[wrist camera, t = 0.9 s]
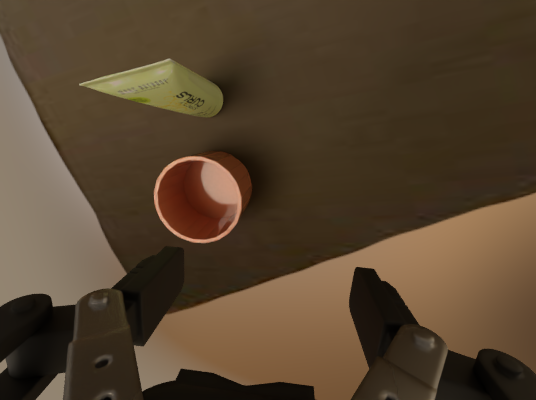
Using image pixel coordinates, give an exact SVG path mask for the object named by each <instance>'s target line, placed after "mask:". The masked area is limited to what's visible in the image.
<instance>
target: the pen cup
mask: <svg viewBox="0 0 536 400" xmlns="http://www.w3.org/2000/svg"><path fill="white" fill-rule="evenodd" d="M251 193H252V183H251V178H250V175H249V173H248V171H247V169H246V168H245V166H244V165H243V164H242V163H241V161H239V160H238V159H237V158H236V157H234V156H232V155H230V154H228V153H225V152H221V151H207V152H203V153H199V154H195V155H191V156H187V157H183V158H180V159H177V160H175V161H173V162H172V163H170V164H169V165H168V166H166V167H165V168H164V169H163V171H162V172H161V174H160V175H159V177H158V178H157V181H156V185H155V189H154V201H155V207H156V210H157V212H158V215H159V217H160V219H161V221H162V222H163V223H164V224H165V226H166V227H167V228H168V229H169V230H170V231H171V232H173V233H174V234H175V235H177V236H178V237H180V238H182V239H185V240H188V241H190V242H196V243H208V242H212V241H216V240H219V239H221V238H222V237H224V236H226V235H227V234H229V233H230V232H231V230H232V229H233V228H234V227H235V225H236V224H237V223H238V221H239V219H240V217H241V216H242V214H243V212H244V210H245V209H246V207H247V205H248V203H249V200H250V197H251Z"/></svg>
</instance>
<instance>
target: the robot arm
mask: <svg viewBox="0 0 536 400" xmlns="http://www.w3.org/2000/svg"><path fill="white" fill-rule="evenodd" d="M183 283H184V250H183V248H179V247H169V246H166V247H164V248H163V249H162V250H161V251H160V252H159V253H158V254H157V255H156V256H155V255H153V256H150V257H148V258H146V259H144V260H142V261H141V262H140V263H139V264H138V265H137V266H136V268H133V269H132V270H131V271H130V273H128V274H127V275H126V276H125V277H123V278H122V279H121V280H120V281H119V282H118V283H117V284H116V285H114V287H112V288H111V289H101V290H97V291H93V292H91V293H89V294H87V295H85V296H83V297H82V298H81V299H80V300H79V301H78V302H77V304H76V305H67V306H56V307H53V306H52V300H51V297H50V296H49V295H46V294H31V295H26V296H22V297H19V298H16V299H14V300H12V301H9V302H7V303H6V304H4V305H2V306H1V307H0V362H2V361H3V360H4V359H6V362H7V368H6V369H5V370H4V371H3V372H2V373H1V374H0V400H36V398H37V397H38V396H39V395H40V394H41V393H42V392H43V390H44V389H45V388H46V387H47V386H48V385H49V384H50V382H51V381H52V380H53V379H54V378H55V377H56V375H57V374H58V373H65V372H66V375H65V385H64V395H63V400H315V398H314V387H313V386H307V385H299V384H292V383H284V382H276V383H267V384H259V385H250V386H245V385H241V384H238V383H236V382H234V381H231V380H229V379H226V378H224V377H221V376H219V375H217V374H214V373H209V372H202V371H193V370H187V369H181V370H180V372H179V374H178V376H177V378H176V381H169V382H165V383H161V384H158V385H155V386H153V387H151V388H148V389H146V390H144V391H143V392H142V389H141V383H140V378H139V373H138V367H137V362H136V356H135V351H134V345H136V346H144V345H145V344H146V342H147V341H148V339H149V338H150V336H151V335H152V333H153V332H154V330H155V329H156V327H157V325H158V324H159V322H160V321H161V320H162V318H163V316H164V315H165V314H166V312H167V311H168V309H169V308H170V306H171V305H172V303H173V302H174V300H175V299H176V297H177V296H178V294H179V293H180V291H181V289H182V287H183ZM349 307H350V312H351V315H352V318H353V321H354V324H355V327H356V330H357V333H358V336H359V339H360V342H361V345H362V348H363V351H364V355H365V358H366V360H367V364H368V366H369V371H368V372H367V374H366V376H365V377H364V379H363V381H362V382H361V384H360V385H359V387H358V389H357V390H356V392H355V393H354V395H353V397H352V399H351V400H536V374H535V373H534V372H533V371H532V370H531V369H530V368H529V367H527V366H526V365H525V364H523V363H522V362H521V361H519V360H517V359H516V358H514V357H512V356H510V355H508V354H506V353H503V352H501V351H497V350H494V349H482V350H480V351H479V352H478V355H477V358H476V359H473V358H470V357H467V356H464V355H461V354H458V353H455V352H453V351H450V350H448V348H447V345H446V343H445V342H444V341H443V340H442V339H441V338H440V337H439V336H438V335H437V334H436V333H434V332H433V331H431V330H429V329H427V328H425V327H422V326H420V325H419V324H418V322H417V321H416V319H415V318H414V316H413V315H412V313H411V312H410V310H409V309H408V307H407V306H406V305H405V303H404V301H403V300H402V298H401V297H400V295H399V294H398V293H397V290H396V289H395V288H394V287H393V286H391V285H390V284H389V283H387V282H386V281H381V280H380V278H379V277H378V275H377V273H376V271H375V270H374V269H371V268H361V267H356V269H355V271H354V276H353V282H352V287H351V292H350V299H349Z"/></svg>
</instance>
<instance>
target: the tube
mask: <svg viewBox="0 0 536 400" xmlns="http://www.w3.org/2000/svg"><path fill="white" fill-rule="evenodd" d="M79 85H81V86H86V87H89V88H92V89H94V90H97V91H100V92H104V93H107V94H111V95H114V96H118V97H121V98H125V99H129V100H132V101H136V102H140V103H144V104H147V105H151V106H155V107H160V108H164V109H168V110H172V111H176V112H180V113H185V114H190V115H195V116H200V117H212V116H215V115H216V114H217V113H218V112H219V111H220V110H221V108H222V105H223V95H222V92H221V90H220V89H219V87H218V86H217V85H216V84H214V83H213V82H211V81H209V80H207V79H205V78H204V77H202V76H200V75H198V74H196V73H195V72H193V71H191V70H189V69H187V68H186V67H184V66H182V65H180V64H179V63H177V62H175V61H173V60H171V59H166V60H164V61H161V62H158V63H154V64H150V65H146V66H143V67H139V68H136V69H132V70H128V71H124V72H119V73H115V74H111V75H107V76H104V77H100V78H97V79H95V80H91V81H88V82H84V83H80V84H79Z"/></svg>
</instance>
